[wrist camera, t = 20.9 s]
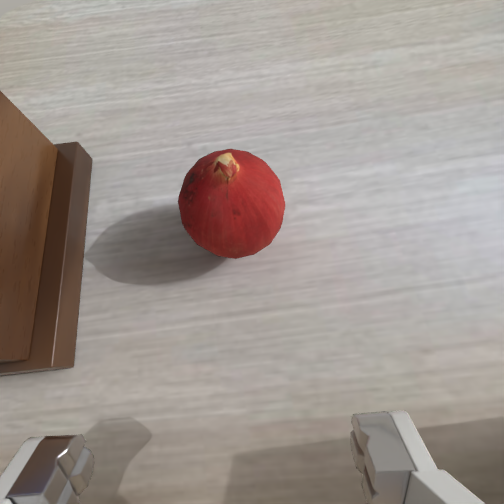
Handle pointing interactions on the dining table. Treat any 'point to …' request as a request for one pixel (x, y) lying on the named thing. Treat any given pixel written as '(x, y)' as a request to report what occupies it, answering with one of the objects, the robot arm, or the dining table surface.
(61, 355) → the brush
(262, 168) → the red pomegranate
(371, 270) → the dining table surface
